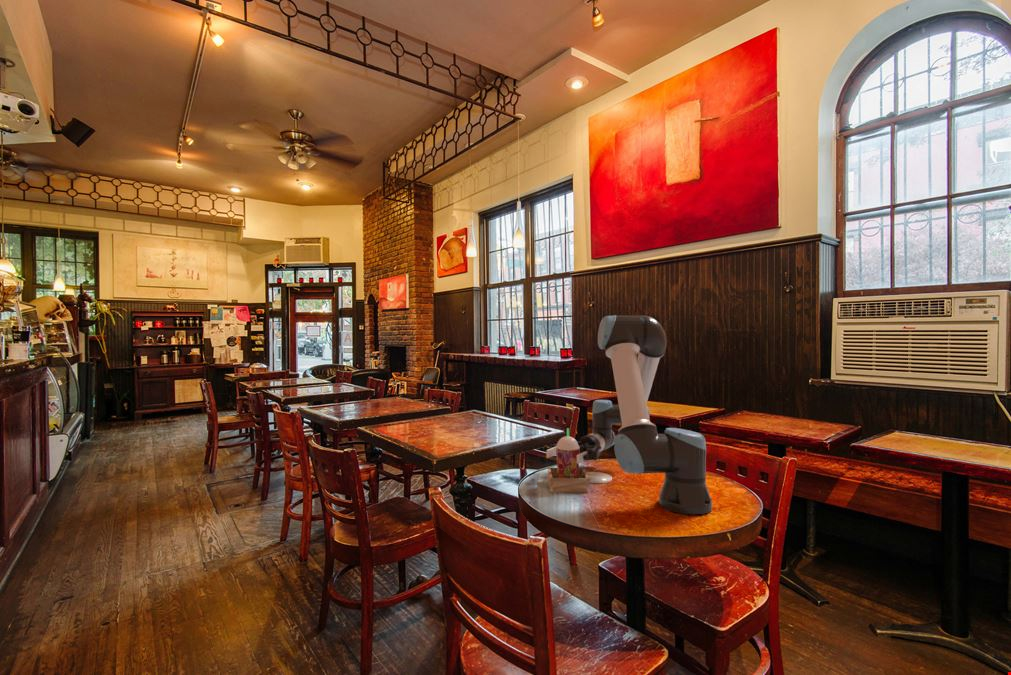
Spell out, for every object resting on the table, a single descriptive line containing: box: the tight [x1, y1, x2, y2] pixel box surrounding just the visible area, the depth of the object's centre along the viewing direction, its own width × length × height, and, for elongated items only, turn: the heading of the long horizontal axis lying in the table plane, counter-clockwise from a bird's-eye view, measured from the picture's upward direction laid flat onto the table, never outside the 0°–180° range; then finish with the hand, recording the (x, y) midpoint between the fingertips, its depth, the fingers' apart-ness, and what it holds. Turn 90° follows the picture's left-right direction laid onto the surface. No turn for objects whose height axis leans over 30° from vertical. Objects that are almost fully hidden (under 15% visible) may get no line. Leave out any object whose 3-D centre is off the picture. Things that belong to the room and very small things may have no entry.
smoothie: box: [555, 428, 581, 478], centre depth 161 cm, size 8×8×20 cm
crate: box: [547, 466, 590, 493], centre depth 161 cm, size 13×13×4 cm
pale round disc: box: [586, 471, 613, 484], centre depth 170 cm, size 12×12×1 cm
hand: (562, 456), depth 158 cm, fingers open, 11 cm apart
